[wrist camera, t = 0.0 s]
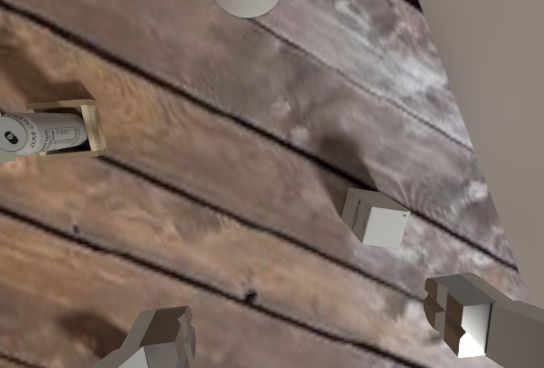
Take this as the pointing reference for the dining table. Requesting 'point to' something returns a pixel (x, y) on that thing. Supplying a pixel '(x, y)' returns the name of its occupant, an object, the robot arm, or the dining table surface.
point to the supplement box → (375, 218)
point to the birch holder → (91, 124)
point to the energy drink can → (40, 132)
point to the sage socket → (6, 155)
